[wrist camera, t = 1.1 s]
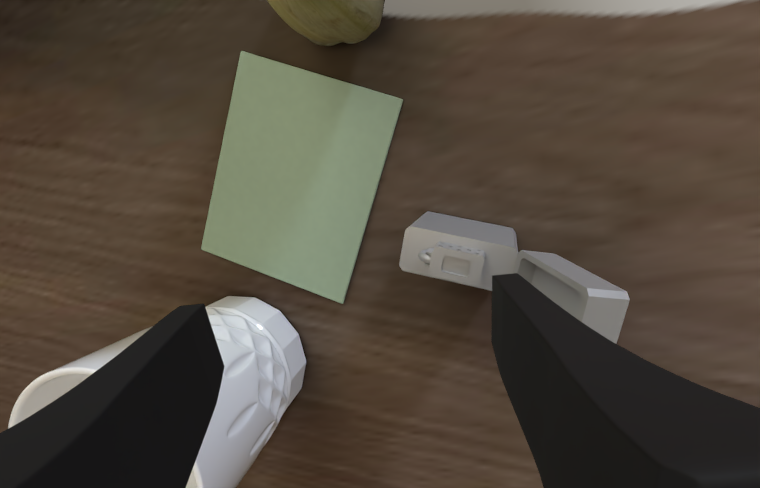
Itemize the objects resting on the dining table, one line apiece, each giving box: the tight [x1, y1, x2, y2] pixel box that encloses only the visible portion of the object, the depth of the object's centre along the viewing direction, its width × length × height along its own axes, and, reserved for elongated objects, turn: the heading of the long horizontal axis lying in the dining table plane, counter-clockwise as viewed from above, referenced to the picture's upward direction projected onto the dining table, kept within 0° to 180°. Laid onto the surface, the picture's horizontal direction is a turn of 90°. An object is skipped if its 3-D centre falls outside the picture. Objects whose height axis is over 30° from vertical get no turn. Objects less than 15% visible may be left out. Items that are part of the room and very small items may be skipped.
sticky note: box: [201, 51, 403, 304], centre depth 23 cm, size 8×10×1 cm
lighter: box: [399, 211, 630, 344], centre depth 18 cm, size 7×2×8 cm, turn 81°
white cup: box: [8, 296, 306, 488], centre depth 21 cm, size 8×8×10 cm
